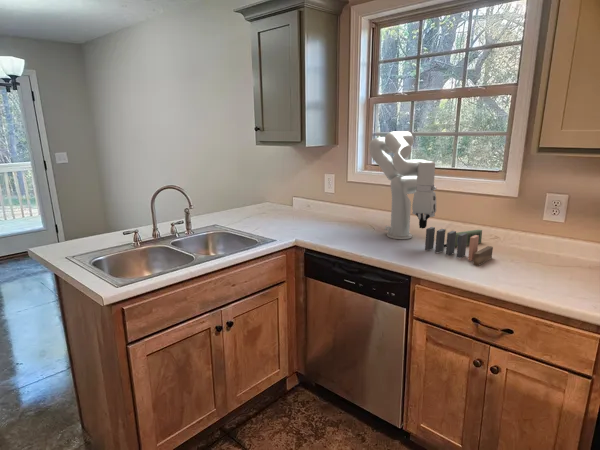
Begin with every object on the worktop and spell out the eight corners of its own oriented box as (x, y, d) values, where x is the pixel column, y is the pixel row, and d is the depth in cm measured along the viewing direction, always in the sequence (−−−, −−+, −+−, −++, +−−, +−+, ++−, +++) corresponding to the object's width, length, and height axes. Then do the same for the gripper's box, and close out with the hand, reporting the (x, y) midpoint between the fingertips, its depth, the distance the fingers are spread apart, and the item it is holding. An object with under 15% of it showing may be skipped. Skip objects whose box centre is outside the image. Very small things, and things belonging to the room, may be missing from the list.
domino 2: (435, 252, 177) (436, 230, 174) (440, 249, 180) (442, 228, 178) (438, 253, 176) (440, 231, 173) (443, 250, 179) (445, 229, 176)
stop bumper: (473, 264, 160) (474, 253, 159) (486, 256, 170) (488, 245, 168) (478, 265, 159) (479, 254, 158) (491, 258, 168) (492, 246, 167)
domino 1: (424, 249, 180) (426, 228, 178) (430, 247, 183) (431, 226, 181) (428, 250, 179) (429, 229, 177) (433, 248, 182) (435, 227, 180)
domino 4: (456, 257, 170) (458, 235, 167) (461, 254, 173) (463, 232, 171) (460, 258, 168) (462, 235, 166) (465, 255, 172) (467, 233, 169)
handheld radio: (482, 243, 190) (441, 250, 180) (477, 242, 193) (436, 248, 183) (483, 230, 188) (442, 235, 179) (478, 229, 191) (437, 234, 182)
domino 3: (445, 254, 173) (447, 232, 171) (450, 252, 176) (452, 230, 174) (449, 255, 172) (450, 233, 170) (454, 252, 175) (456, 231, 173)
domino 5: (468, 259, 166) (470, 237, 164) (472, 257, 169) (475, 235, 167) (471, 260, 165) (474, 238, 163) (476, 258, 168) (479, 235, 166)
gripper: (444, 189, 175) (441, 229, 179) (414, 186, 185) (412, 224, 189) (436, 190, 170) (433, 232, 174) (405, 187, 180) (404, 226, 184)
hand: (422, 227), depth 182 cm, fingers closed
